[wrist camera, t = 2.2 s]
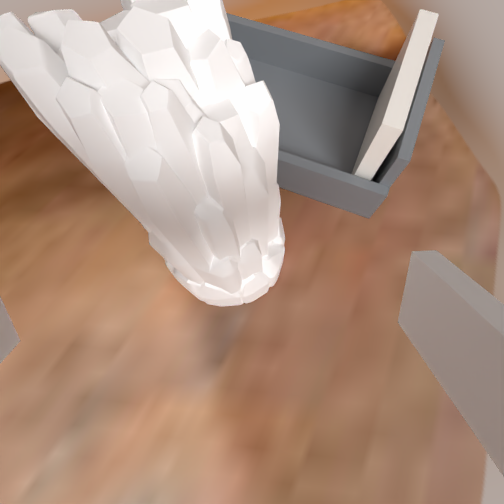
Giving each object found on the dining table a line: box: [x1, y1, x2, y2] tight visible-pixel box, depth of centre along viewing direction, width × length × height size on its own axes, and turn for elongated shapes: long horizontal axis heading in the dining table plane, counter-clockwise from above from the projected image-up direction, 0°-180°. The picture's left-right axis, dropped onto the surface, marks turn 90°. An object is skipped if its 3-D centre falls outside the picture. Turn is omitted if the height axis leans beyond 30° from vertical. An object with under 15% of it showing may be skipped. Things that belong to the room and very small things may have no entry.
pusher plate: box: [352, 9, 439, 181], centre depth 31 cm, size 2×13×10 cm, turn 158°
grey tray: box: [226, 13, 445, 218], centre depth 33 cm, size 24×16×9 cm, turn 68°
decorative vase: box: [0, 0, 285, 306], centre depth 20 cm, size 11×11×25 cm
